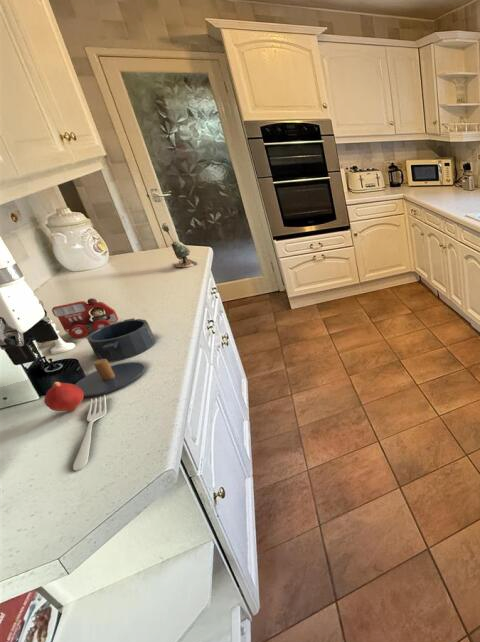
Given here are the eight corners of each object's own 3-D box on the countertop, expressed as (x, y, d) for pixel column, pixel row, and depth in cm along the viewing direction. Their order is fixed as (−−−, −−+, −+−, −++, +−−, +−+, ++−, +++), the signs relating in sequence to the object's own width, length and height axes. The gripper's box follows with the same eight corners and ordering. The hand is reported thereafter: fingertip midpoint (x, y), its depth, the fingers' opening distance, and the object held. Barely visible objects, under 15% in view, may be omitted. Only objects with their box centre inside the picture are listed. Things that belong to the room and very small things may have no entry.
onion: (50, 414, 89) (31, 385, 86) (84, 399, 94) (67, 371, 91) (59, 422, 87) (41, 393, 84) (94, 406, 91) (78, 378, 88)
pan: (86, 371, 104) (74, 351, 102) (110, 340, 119) (100, 322, 116) (146, 358, 110) (137, 338, 107) (162, 330, 124) (154, 312, 122)
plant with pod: (177, 271, 173) (159, 227, 165) (174, 265, 181) (157, 222, 173) (199, 266, 178) (183, 223, 170) (195, 260, 186) (180, 219, 178)
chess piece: (56, 347, 116) (39, 317, 112) (78, 343, 118) (62, 313, 114) (47, 355, 112) (29, 325, 108) (70, 351, 114) (53, 320, 110)
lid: (62, 406, 92) (49, 384, 89) (85, 375, 103) (74, 355, 100) (137, 387, 98) (126, 367, 95) (151, 360, 109) (142, 341, 106)
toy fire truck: (120, 328, 126) (106, 299, 122) (65, 342, 119) (48, 311, 115) (121, 320, 131) (107, 292, 127) (68, 333, 124) (52, 303, 119)
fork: (66, 474, 74) (61, 468, 73) (92, 405, 92) (88, 399, 91) (90, 466, 75) (85, 459, 75) (110, 400, 93) (107, 394, 93)
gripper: (-9, 268, 82) (34, 338, 89) (-69, 298, 68) (-12, 378, 75) (40, 261, 86) (78, 329, 93) (-7, 288, 72) (42, 366, 79)
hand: (38, 351), depth 84 cm, fingers open, 9 cm apart
